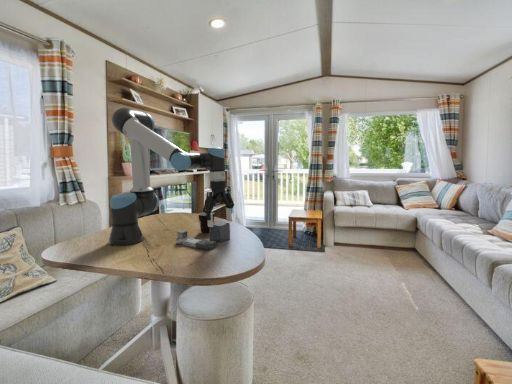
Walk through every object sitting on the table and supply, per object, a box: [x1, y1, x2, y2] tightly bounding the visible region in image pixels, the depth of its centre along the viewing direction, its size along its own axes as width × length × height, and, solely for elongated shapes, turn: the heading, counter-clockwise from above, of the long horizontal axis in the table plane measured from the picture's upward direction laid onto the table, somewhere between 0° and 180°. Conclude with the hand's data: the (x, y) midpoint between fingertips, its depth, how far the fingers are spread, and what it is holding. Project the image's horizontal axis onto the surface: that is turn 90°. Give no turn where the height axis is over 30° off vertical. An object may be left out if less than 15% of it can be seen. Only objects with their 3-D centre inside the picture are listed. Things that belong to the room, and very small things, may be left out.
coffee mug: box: [197, 212, 215, 234], centre depth 158 cm, size 12×9×10 cm
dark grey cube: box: [209, 221, 231, 243], centre depth 141 cm, size 7×7×8 cm
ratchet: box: [175, 229, 217, 252], centre depth 133 cm, size 22×6×6 cm, turn 56°
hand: (220, 223), depth 140 cm, fingers open, 13 cm apart
